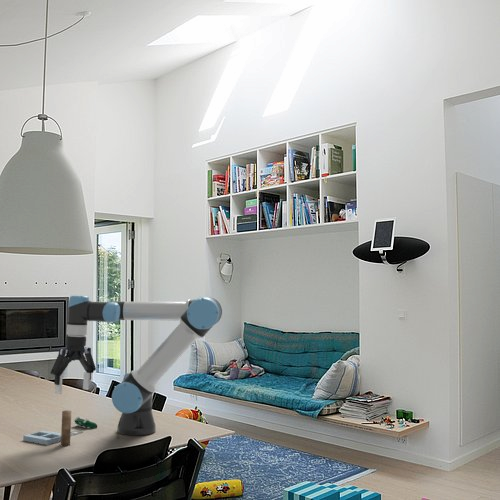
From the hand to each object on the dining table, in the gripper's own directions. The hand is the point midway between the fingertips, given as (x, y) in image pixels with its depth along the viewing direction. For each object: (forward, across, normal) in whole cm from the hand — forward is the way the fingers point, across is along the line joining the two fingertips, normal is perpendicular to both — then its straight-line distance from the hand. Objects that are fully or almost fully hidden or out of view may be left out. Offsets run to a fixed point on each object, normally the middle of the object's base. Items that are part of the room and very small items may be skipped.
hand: (72, 391), depth 237 cm
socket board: (+17, +9, -3) cm, 20 cm away
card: (+17, -3, -3) cm, 18 cm away
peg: (+17, +9, +8) cm, 21 cm away
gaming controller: (+18, -15, -8) cm, 25 cm away
